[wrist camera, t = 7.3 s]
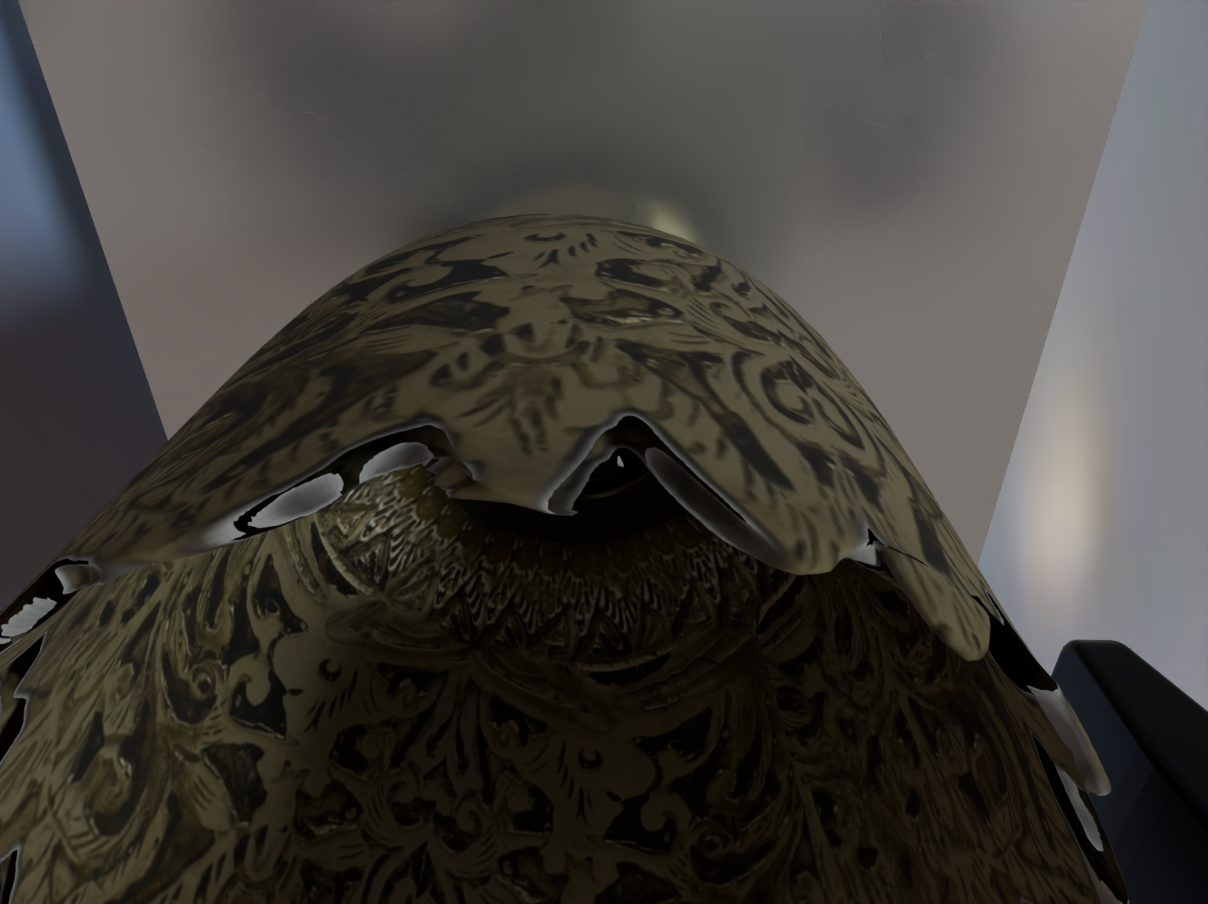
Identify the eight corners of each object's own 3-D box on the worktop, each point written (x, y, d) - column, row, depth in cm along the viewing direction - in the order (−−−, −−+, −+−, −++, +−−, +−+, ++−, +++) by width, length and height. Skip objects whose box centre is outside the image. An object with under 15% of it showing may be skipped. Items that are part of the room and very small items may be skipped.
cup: (674, 617, 15) (701, 1233, 9) (229, 435, 14) (-146, 1053, 7) (988, 239, 11) (1442, 856, 5) (421, -92, 10) (-22, 215, 3)
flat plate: (1112, -99, 11) (1173, -82, 9) (936, 560, 17) (959, 623, 15) (63, -93, 11) (-8, -74, 10) (255, 551, 17) (226, 612, 16)
